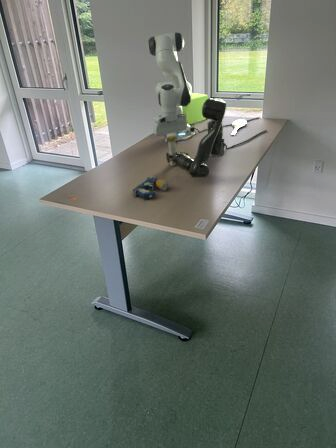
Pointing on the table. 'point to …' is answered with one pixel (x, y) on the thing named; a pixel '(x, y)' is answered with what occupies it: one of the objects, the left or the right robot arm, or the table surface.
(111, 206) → the table surface
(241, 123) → the spoon
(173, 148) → the pale cream cylinder
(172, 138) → the lid
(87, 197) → the table surface
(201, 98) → the lime green box
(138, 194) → the spray gun
